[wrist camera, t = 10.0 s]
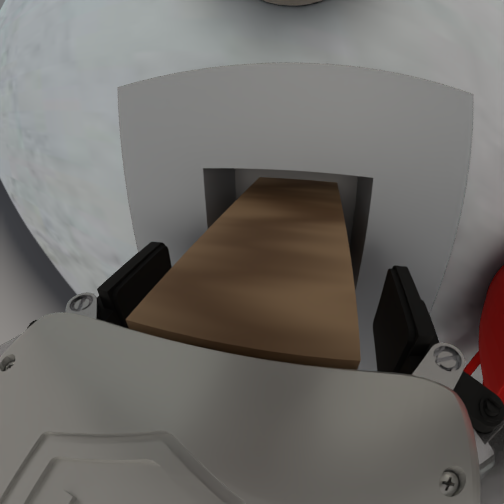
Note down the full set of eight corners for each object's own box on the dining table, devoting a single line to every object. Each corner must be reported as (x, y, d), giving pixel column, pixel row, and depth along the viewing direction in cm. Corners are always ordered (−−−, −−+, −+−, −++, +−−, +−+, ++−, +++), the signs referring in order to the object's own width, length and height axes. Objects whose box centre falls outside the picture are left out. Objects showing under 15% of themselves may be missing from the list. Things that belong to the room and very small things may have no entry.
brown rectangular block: (337, 182, 17) (360, 360, 5) (330, 252, 19) (317, 453, 7) (259, 177, 18) (125, 319, 6) (260, 245, 20) (172, 422, 8)
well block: (433, 97, 12) (473, 94, 8) (390, 324, 21) (399, 374, 16) (167, 89, 16) (117, 87, 12) (189, 300, 25) (162, 341, 20)
